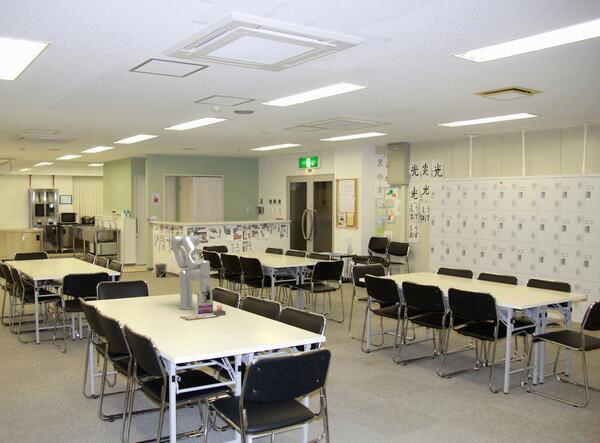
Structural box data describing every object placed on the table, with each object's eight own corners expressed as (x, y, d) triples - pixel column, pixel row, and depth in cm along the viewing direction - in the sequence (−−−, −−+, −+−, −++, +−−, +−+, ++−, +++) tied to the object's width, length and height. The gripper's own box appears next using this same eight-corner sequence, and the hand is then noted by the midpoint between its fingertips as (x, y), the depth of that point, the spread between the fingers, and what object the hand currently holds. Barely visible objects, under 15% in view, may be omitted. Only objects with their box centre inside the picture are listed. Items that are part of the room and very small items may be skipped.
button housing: (213, 314, 420) (213, 310, 420) (221, 313, 424) (221, 309, 424) (217, 316, 414) (217, 312, 414) (225, 315, 418) (225, 311, 418)
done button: (216, 312, 419) (215, 305, 419) (220, 311, 421) (220, 304, 421) (218, 312, 416) (218, 306, 416) (223, 312, 418) (223, 305, 418)
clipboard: (179, 317, 409) (179, 316, 409) (210, 313, 423) (209, 312, 423) (187, 320, 397) (187, 319, 397) (218, 317, 410) (218, 315, 410)
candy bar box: (211, 312, 430) (211, 291, 429) (213, 313, 425) (212, 291, 425) (197, 313, 425) (197, 291, 425) (198, 314, 421) (198, 292, 420)
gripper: (196, 276, 430) (196, 298, 430) (205, 278, 415) (205, 300, 415) (205, 275, 434) (205, 297, 434) (214, 277, 419) (214, 299, 419)
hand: (205, 299), depth 424 cm, fingers open, 9 cm apart
